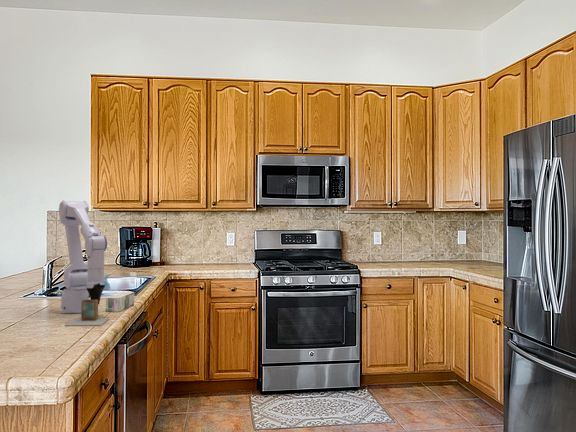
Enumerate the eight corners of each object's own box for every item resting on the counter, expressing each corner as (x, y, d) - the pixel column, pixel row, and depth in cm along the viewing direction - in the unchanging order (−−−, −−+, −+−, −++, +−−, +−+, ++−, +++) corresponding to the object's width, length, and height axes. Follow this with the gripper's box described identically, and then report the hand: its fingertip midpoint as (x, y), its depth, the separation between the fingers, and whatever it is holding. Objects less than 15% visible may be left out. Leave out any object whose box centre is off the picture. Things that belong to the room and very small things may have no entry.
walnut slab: (81, 320, 169) (81, 300, 169) (83, 319, 171) (83, 299, 171) (95, 320, 169) (96, 300, 169) (98, 318, 172) (98, 299, 172)
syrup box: (121, 291, 202) (104, 297, 187) (135, 291, 201) (119, 297, 186) (121, 304, 202) (104, 311, 187) (134, 305, 201) (118, 312, 186)
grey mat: (64, 326, 162) (64, 325, 162) (74, 319, 171) (74, 318, 171) (101, 325, 163) (101, 324, 163) (109, 319, 173) (109, 318, 173)
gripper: (101, 270, 169) (100, 308, 169) (112, 266, 183) (111, 301, 183) (80, 270, 168) (80, 308, 168) (93, 266, 183) (92, 301, 183)
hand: (95, 305), depth 176 cm, fingers closed
